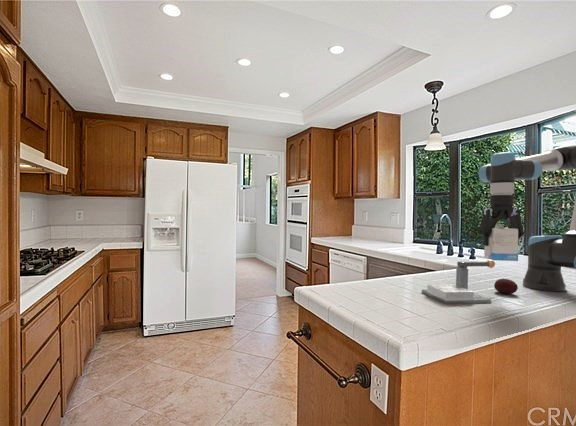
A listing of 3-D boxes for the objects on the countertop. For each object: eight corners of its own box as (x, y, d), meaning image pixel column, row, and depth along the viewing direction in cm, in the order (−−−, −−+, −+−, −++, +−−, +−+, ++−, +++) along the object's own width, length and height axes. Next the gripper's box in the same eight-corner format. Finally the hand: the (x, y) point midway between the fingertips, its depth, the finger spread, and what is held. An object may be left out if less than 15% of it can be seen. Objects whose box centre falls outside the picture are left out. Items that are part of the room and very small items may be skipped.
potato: (504, 296, 131) (505, 281, 131) (489, 291, 139) (489, 277, 139) (521, 296, 132) (521, 281, 132) (504, 290, 140) (505, 276, 140)
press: (462, 291, 138) (463, 266, 137) (491, 302, 122) (491, 274, 122) (421, 292, 135) (422, 266, 135) (445, 304, 119) (446, 274, 119)
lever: (490, 266, 138) (490, 259, 138) (497, 268, 134) (497, 260, 134) (455, 267, 136) (455, 259, 136) (461, 269, 132) (461, 261, 132)
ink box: (518, 261, 119) (519, 224, 119) (493, 260, 121) (493, 223, 120) (507, 257, 128) (508, 223, 127) (483, 257, 129) (484, 222, 129)
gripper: (520, 195, 129) (519, 252, 129) (467, 194, 126) (466, 253, 126) (537, 194, 122) (536, 255, 122) (481, 193, 118) (480, 256, 119)
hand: (500, 254), depth 124 cm, fingers closed on ink box, 10 cm apart
